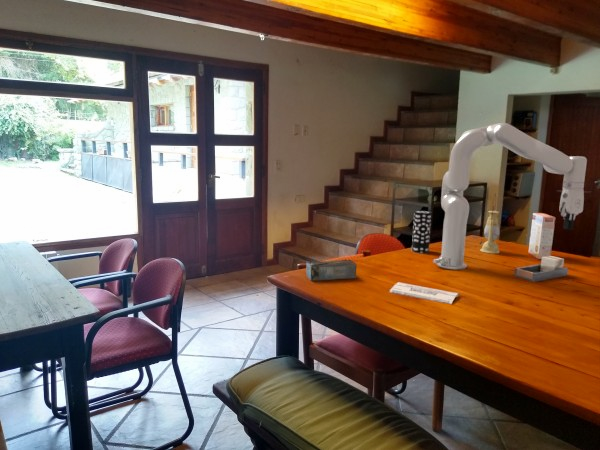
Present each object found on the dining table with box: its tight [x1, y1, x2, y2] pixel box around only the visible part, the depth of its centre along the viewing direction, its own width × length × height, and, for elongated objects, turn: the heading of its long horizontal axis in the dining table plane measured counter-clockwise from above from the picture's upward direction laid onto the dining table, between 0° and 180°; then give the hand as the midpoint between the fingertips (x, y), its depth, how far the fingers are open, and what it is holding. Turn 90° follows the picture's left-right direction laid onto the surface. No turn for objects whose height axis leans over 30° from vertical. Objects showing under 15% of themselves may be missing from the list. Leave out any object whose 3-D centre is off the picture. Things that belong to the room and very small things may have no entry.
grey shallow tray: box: [513, 263, 569, 283], centre depth 189 cm, size 22×9×3 cm, turn 119°
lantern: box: [479, 193, 500, 255], centre depth 230 cm, size 12×10×30 cm
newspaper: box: [388, 281, 459, 305], centre depth 163 cm, size 23×12×2 cm, turn 59°
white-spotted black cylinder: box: [411, 210, 432, 254], centre depth 228 cm, size 8×8×20 cm
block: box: [540, 255, 565, 271], centre depth 192 cm, size 6×6×6 cm
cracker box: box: [527, 212, 556, 261], centre depth 222 cm, size 14×6×21 cm, turn 171°
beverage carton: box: [305, 258, 357, 282], centre depth 181 cm, size 8×19×7 cm, turn 104°
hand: (568, 229), depth 194 cm, fingers closed
